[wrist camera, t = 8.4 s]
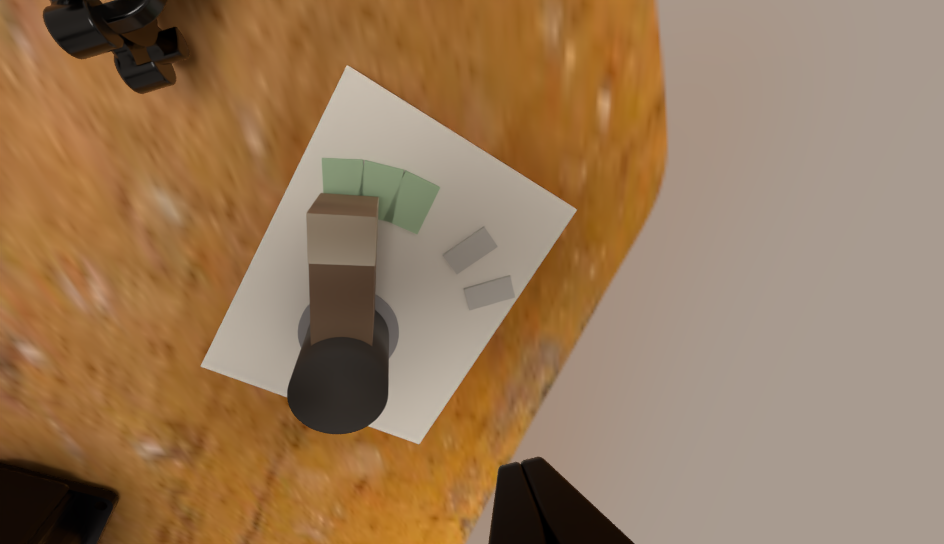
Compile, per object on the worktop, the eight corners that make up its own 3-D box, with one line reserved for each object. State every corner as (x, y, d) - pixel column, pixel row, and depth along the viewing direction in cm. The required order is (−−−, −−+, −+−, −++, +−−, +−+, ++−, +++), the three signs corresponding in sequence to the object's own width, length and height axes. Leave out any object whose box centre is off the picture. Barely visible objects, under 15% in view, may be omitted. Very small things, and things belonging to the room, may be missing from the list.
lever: (387, 370, 19) (386, 432, 16) (308, 370, 19) (289, 435, 15) (395, 198, 17) (395, 227, 13) (303, 191, 16) (278, 220, 12)
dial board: (417, 426, 23) (419, 447, 21) (211, 350, 19) (198, 369, 18) (566, 202, 19) (579, 210, 18) (350, 66, 16) (346, 64, 15)
